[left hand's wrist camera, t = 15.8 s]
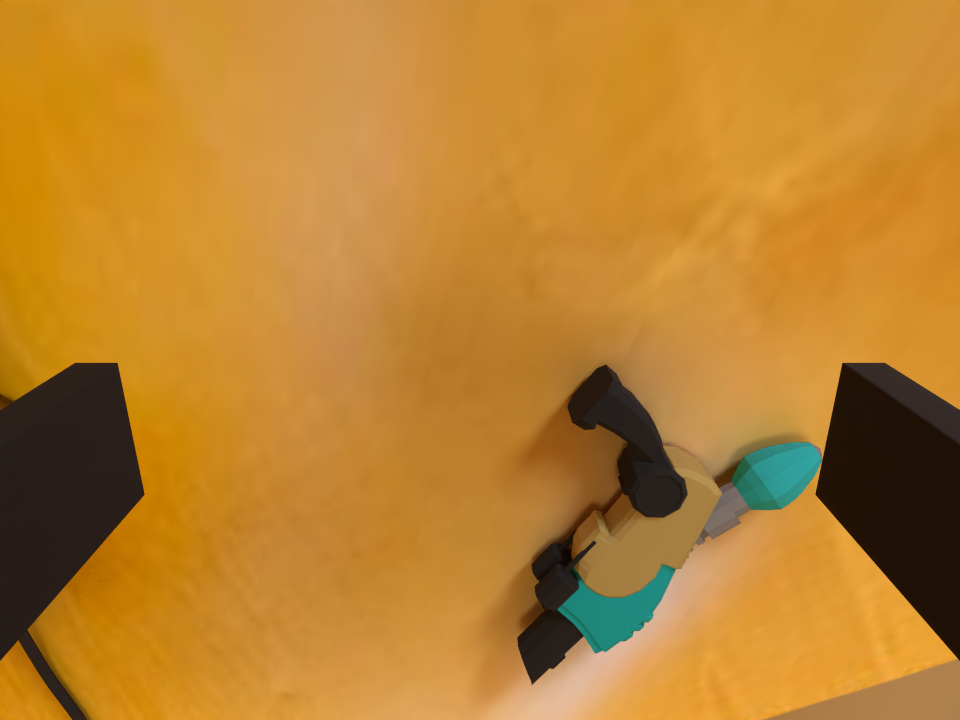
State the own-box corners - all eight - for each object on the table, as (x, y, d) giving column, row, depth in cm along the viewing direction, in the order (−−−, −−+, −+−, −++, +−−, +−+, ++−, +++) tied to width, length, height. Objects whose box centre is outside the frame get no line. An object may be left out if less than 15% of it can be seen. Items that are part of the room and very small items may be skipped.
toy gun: (396, 622, 44) (568, 727, 47) (670, 328, 37) (849, 475, 40) (402, 578, 48) (560, 676, 51) (650, 306, 41) (813, 440, 44)
